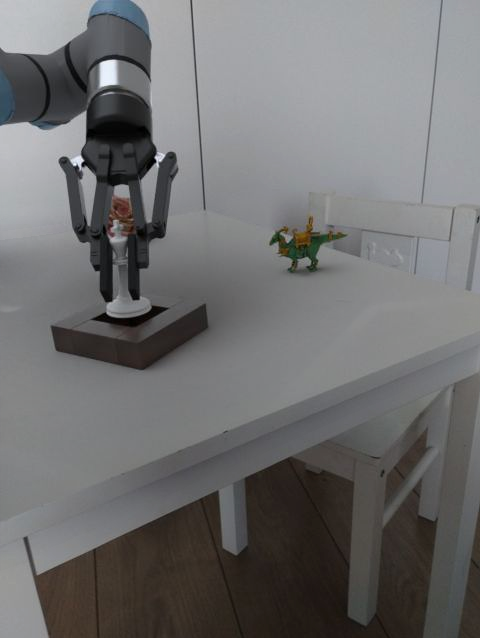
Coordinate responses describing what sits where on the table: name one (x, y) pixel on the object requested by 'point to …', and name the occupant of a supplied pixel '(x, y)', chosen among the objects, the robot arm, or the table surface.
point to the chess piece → (124, 281)
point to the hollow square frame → (130, 331)
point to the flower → (121, 215)
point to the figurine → (303, 244)
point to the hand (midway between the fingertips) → (120, 295)
